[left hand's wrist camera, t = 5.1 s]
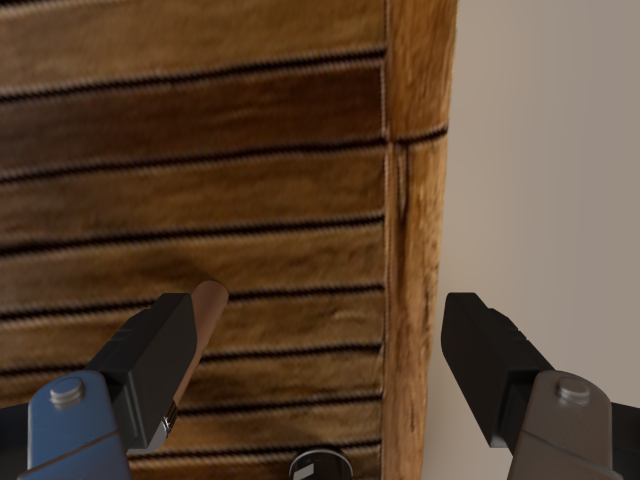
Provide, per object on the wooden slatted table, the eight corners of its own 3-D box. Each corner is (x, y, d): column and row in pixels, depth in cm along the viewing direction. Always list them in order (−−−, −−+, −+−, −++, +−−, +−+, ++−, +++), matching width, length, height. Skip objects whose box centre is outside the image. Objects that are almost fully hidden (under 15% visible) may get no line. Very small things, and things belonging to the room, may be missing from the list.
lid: (188, 422, 28) (178, 446, 26) (133, 436, 29) (119, 461, 27) (160, 375, 27) (148, 397, 25) (103, 391, 27) (86, 413, 25)
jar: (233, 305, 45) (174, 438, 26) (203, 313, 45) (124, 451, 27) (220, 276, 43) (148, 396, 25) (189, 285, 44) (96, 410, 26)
